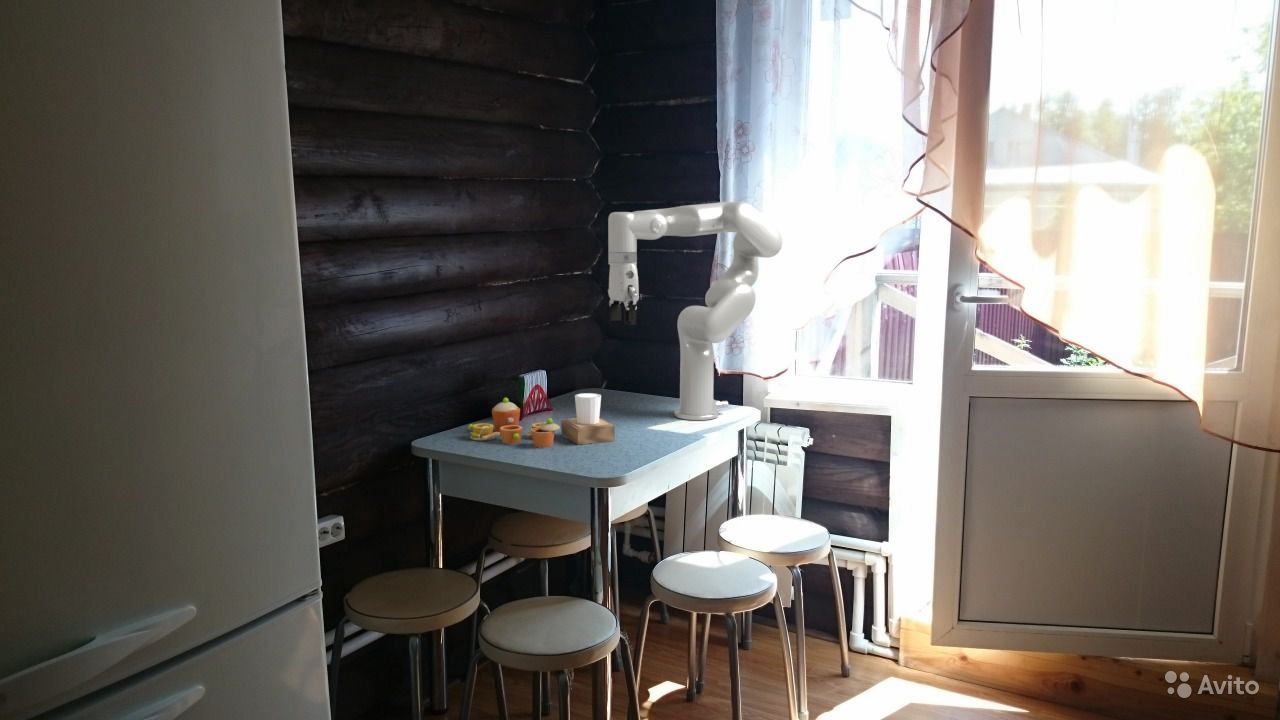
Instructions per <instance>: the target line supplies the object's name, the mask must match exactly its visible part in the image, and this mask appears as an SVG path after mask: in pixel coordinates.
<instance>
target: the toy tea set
mask: <svg viewBox="0 0 1280 720" xmlns="http://www.w3.org/2000/svg"><path fill="white" fill-rule="evenodd" d="M491 414H492V415H491V416H492V419H493V424H492V423H486V422H485V423H475V424H472V423H471V424H469V425H468V426H467V427H468V428H467V429H468V430H470V431H472V432H470V437H469V438H470V439H471V440H474V441H480V442H482V441H483V442H484V441H485V442H486V441H491V440H494V439H495V438H497V436H500V438H501V443H503V444H505V445H514V444H519V443H520V442H521V440H522V432H523V427H522V426H521V425H519V424H520V423H519V422H520V416H521V408H520V407H518V406H517V405H516V404H515V403H513V402H511V401H509V398H508V397H504V398H503V399H502V401H501V402H499V403H497V404H496V405H495V406H494V407H492V409H491ZM560 429H561V426H559V425H558V424H557V423H555V422H554V421H553V419H552V418H550V417H549V418H546V421H544V422H536V423H532V424H531V429H530V431H528V432H526V433H525V435H526V436H527V437H529V439H532V443H533V447H534V446H535V447H534V448H536V447H542V448H541V449H544V448H543V447H549V448H551V447H550V446H552V445H554V439H555V438H554V437H555V435H556V434H555V432H556V431H558V430H560ZM552 447H553V446H552Z"/></svg>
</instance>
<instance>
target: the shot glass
mask: <svg viewBox="0 0 1280 720" xmlns="http://www.w3.org/2000/svg"><path fill="white" fill-rule="evenodd" d="M574 400H575V410H576V411H575V412H576V418H577V422H578V423H580V424H596V423H598V422H599V418H600V413H601V401H602V394H599V393H593V392H587V393H586V392H585V393H584V392H582V393H578V394H574Z"/></svg>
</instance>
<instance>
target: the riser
mask: <svg viewBox="0 0 1280 720" xmlns="http://www.w3.org/2000/svg"><path fill="white" fill-rule="evenodd" d="M560 421H561V422H560V424H561V425H560V429H561V434H562V435H561V436H563V435H564V436H565V437H564V436H563V437H564V438H566V437H567V438H568V440H569V439H570V440H569V441H571V440H572V441H573V442H572V441H571V442H572V443H574V444H575V443H576V444H575V445H577V444H578V445H577V446H581V445H580V444H583V445H590V444H589V443H592V444H601V443H608V442H609V441H610V442H615V439H616V438H615V431H616V430H615V429H616V428H615V426H616V425H614V424H612V423H610V422H608V421H606V420H604V419H603V418H600V417H599V422H598V423H596V424H580V423H578V422H577V417H574V418H565V419H561V420H560ZM567 438H566V439H567ZM610 442H609V443H610Z"/></svg>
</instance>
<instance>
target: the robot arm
mask: <svg viewBox="0 0 1280 720" xmlns="http://www.w3.org/2000/svg"><path fill="white" fill-rule="evenodd" d="M607 221H608V226H607V227H608V231H607V233H608V240H607V242H608V243H607V244H608V265H609V274H608V275H609V276H608V289H607V293H608V300H609V302H608V305H609V321H610V322H621V321H622V306H621V303H623V304H624V307H625V309H624V310H623V311H624V312H623V313H624V314H623V316H624V321H623V323H624V325H625V326H634V325H636V324H637V309H638V307H637V306H638V303H639V299H640V296H639V295H640V294H639V293H640V292H639V289H640V288H639V275H638V268H637V263H638V261H637V260H638V255H637V254H638V252H637V249H638V248H637V247H638V245H637V243H638V242H637V241H638V240H646V241H647V240H649V241H652V240H657V239H660V238H662V237H666V236H668V237H669V236H671V237H697V236H705V235H706V236H708V235H712V234H713V235H714V234H721V233H723V234H724V233H735V234H734V236H733V240H732V244H733V245H732V246H733V247H732V248H733V259H732V263H731V265H730V266H729V267H728V268H727V270H725V272H724V273H723V274H722V275H721V276H720V277H719V278H718V279H717V280H716V281H715V282H714V283H713V284H712V285H711V286H710V288H708V290H707V291H706V294H705V297H704V300H705V301H704V302H705V305H706V306H702V305H690V306H687V307H685V308H684V309H682V311H680V314H679V315H678V318H677V332H678V339H679V346H680V347H679V350H680V353H679V355H680V363H679V365H680V366H679V371H680V373H679V374H680V375H679V380H680V381H679V408H678V409H675V411H674V416H675V417H676V418H678V419H682V420H686V421H687V420H688V421H690V420H691V421H707V420H708V421H709V420H713V419H716V418H718V417H719V411H718V410H719V409H720V408H721V409H723V408H725V409H726V408H728V407H729V402H728V400H721V401H720V400H716V399H714V378H715V377H714V376H715V375H714V372H715V371H714V369H715V368H714V367H715V366H714V364H715V355H714V354H715V353H714V352H715V351H714V347H713V344H719V343H721V342H724V341H725V340H726V339H728V338H729V337H730V336H731V335H732V334H733V333H734V332H735V331H736V330H737V328H738V327H739V326H741V324H742V323H743V322H744V321H745V320H746V319H747V318H748V317H749V316H750V314H751V313H752V312H753V310H754V308H755V305H756V293H755V290H754V289H753V285H754V284H755V283H756V281H757V279H758V277H759V258H771V257H775V256H776V255H778V254H779V253H780V251H781V250H782V247H783V238H782V235H781V232H779V230H778V229H777V228H776V226H774V225H773V224H772V223H771V222H770V221H769V220H768V219H767V217H765V216H764V215H763V214H762V213H761V212H760V211H759V210H758V209H757V208H755V207H754V206H753V205H751V204H750V203H749V202H746V201H722V202H721V201H719V202H712V203H702V204H701V203H699V204H689V205H680V206H674V207H669V208H668V207H667V208H658V209H646V210H636V211H632V212H630V211H614V212H611V213H610V214H609V215H608V219H607Z"/></svg>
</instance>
